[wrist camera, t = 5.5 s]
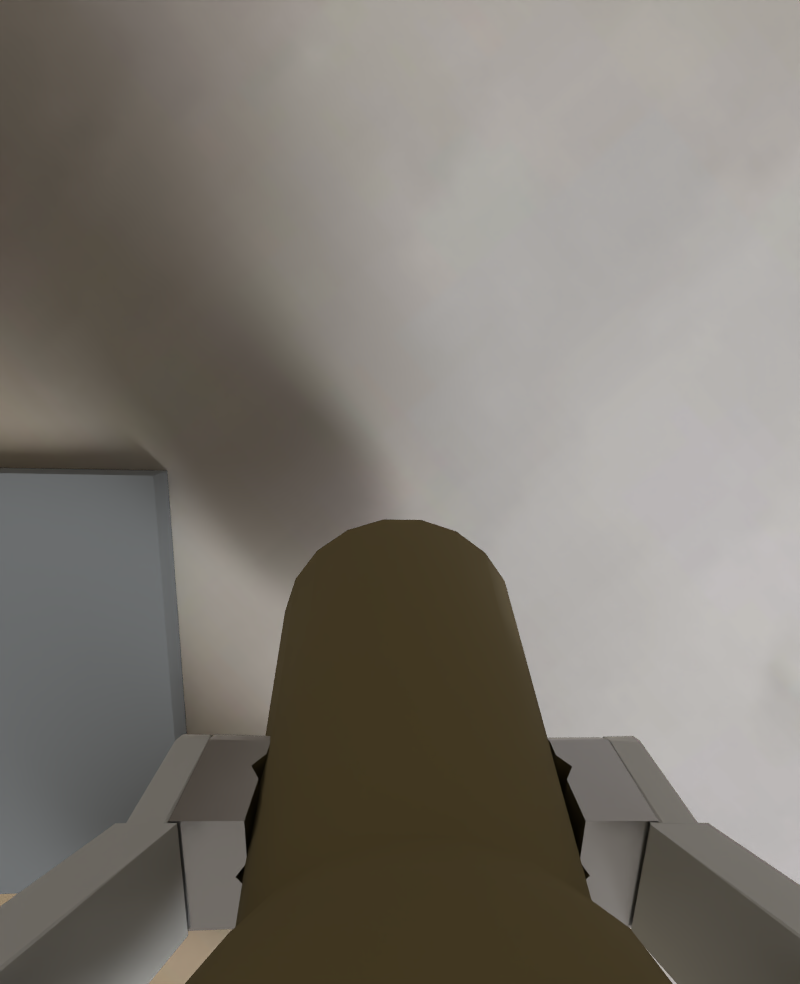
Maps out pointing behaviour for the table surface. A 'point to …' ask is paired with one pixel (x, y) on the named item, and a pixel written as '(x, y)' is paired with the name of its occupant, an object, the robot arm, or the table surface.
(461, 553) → the olive game pawn
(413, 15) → the table surface
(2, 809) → the slate mat
